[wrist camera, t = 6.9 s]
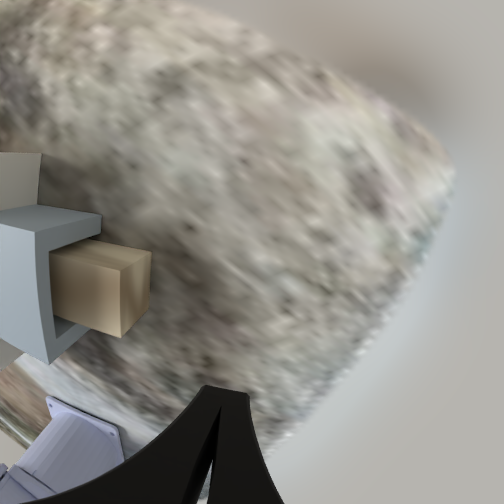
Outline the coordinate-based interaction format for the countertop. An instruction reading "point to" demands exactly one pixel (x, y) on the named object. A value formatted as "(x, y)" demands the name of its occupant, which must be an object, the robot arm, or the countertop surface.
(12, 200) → the board
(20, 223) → the slate block
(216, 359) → the countertop surface
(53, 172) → the countertop surface
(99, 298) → the birch bar
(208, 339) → the countertop surface
